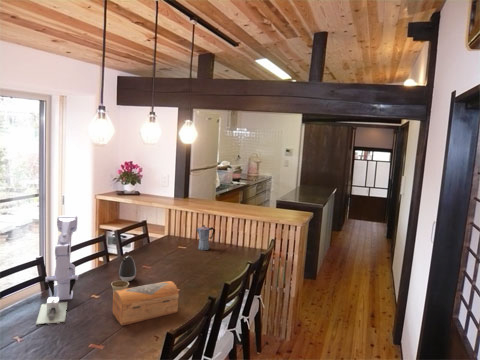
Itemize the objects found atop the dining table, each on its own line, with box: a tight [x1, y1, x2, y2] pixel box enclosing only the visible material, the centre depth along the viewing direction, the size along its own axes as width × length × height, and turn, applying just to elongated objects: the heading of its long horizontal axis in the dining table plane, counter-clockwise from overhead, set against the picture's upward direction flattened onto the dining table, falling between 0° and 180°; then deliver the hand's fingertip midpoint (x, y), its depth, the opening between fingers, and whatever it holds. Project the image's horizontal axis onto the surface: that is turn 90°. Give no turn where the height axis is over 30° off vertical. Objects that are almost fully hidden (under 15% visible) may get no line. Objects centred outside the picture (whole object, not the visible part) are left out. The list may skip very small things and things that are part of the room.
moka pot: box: [195, 224, 215, 251], centre depth 303 cm, size 10×15×20 cm, turn 107°
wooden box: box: [112, 280, 180, 326], centre depth 191 cm, size 30×16×14 cm, turn 126°
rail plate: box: [35, 301, 68, 325], centre depth 182 cm, size 20×12×3 cm, turn 21°
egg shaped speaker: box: [118, 255, 137, 282], centre depth 229 cm, size 10×10×15 cm
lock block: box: [46, 296, 60, 315], centre depth 182 cm, size 6×5×6 cm
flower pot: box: [110, 280, 130, 293], centre depth 203 cm, size 9×9×9 cm
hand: (61, 294), depth 185 cm, fingers open, 7 cm apart
